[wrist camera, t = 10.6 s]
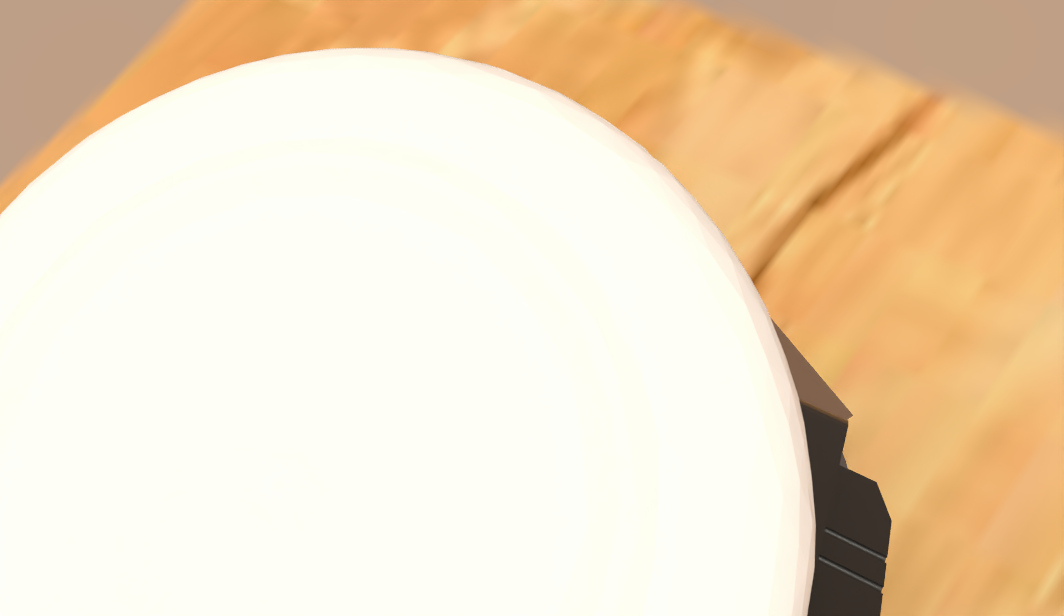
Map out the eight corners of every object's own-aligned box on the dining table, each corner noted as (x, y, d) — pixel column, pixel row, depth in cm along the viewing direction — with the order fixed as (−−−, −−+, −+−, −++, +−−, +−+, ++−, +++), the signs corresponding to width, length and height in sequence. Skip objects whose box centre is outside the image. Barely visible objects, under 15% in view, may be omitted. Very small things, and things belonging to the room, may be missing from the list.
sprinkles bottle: (454, 431, 17) (-151, 99, 4) (673, 399, 17) (717, -78, 4) (476, 667, 16) (-299, 1187, 3) (715, 640, 15) (990, 1130, 3)
